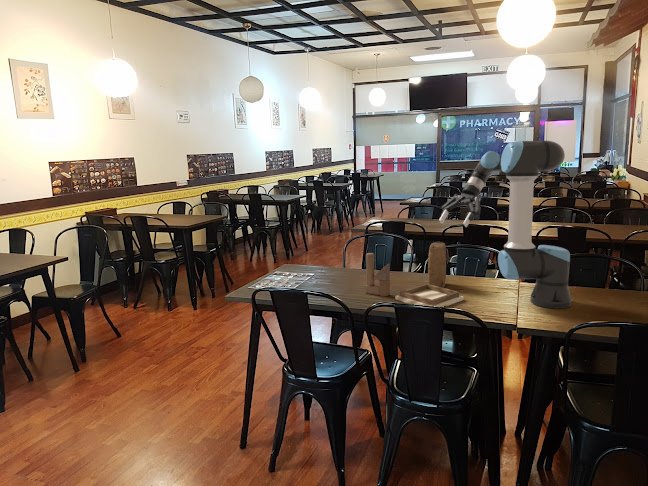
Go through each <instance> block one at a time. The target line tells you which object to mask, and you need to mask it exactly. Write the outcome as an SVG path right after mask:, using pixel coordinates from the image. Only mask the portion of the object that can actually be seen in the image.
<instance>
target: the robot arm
mask: <svg viewBox="0 0 648 486" xmlns="http://www.w3.org/2000/svg"><path fill="white" fill-rule="evenodd" d="M564 161H565V151H564V148H563V147H562V146H561V145H560V144H559V143H558V142H555V141H553V140H519V141H511V142H509V143H507V144H506V146H505V147H504V149H503V150H502V153H501V154H499V153H498V152H496V151H493V150H489V151H486V152H485V153H484V154H483V156H481V159H480V160H479V161H478V163H477V165H476V166H475V168H474V170H473V171H472V173H471V175H470V177H469V178H468V181H467V182H466V183H465V186H464V187H463V189H462V191H461V194H459V195H458V194H457V193H455V194H454V195H453V196H452V197H451V198H450V199H449V200H448V201H446V202H445V203H444V204H443V205H442V206H441V207H440V208H441V209H442V212H441V213H440V215H441V216H440V217H439V219H438V221H439V222H440V224H444V222H445V220H446V218H447V217H448V215H449V213H450V211H452V210H454V209H456V208H457V207H459V206H469V209H470V211H469V212H468V214H467V215H466V217H465V220H464V221H463V223H462V224H463V225H464V227H465V228H468V226H469V225H470V222H471V221H473V219H474V218H475V216H480V215H481V202H482V198H481V197H480V193H481V191H482V190H483V188H484V186H485V184H486V182H487V181H488V179H489V178H490V176H491V175H492V173H493V172H503V173H505V177H506V179H507V180H509V203H508V205H509V206H508V209H509V210H508V233H507V234H508V235H507V236H508V238H507V242H506V243H505V244H504V245H503V249H502V250H500V251H499V252H498V256H497V264H498V267H499V272H500V274H502V276H503V277H504V279H506V280H514V281H515V280H516V281H518V280H536V281H535V285H534V287H533V289H532V292H531V294H530V303H532V304H533V305H535V306H537V307H542V308H547V309H566V308H570V307H571V306H572V301H573V300H572V297H571V293H570V289H569V275H570V262H571V253H570V251H569V250H568V249H566V248H564V247H561V246H556V245H548V244H540V245H538V247H537V249H536V245H535V244H534V243H533V242H532V238H533V237H532V234H533V212H534V211H533V210H534V206H533V205H534V183H535V180H536V179H537V178H538V177H539V173H540V172H549V171H552V170H555V169H557V168H559V167H560V166H562V164H563V162H564ZM473 202H474V203H475V207H474V204H473Z"/></svg>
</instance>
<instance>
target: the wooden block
mask: <svg viewBox="0 0 648 486" xmlns="http://www.w3.org/2000/svg"><path fill="white" fill-rule="evenodd" d="M365 256H366V257H365V261H366V263H365V266H366V269H365V270H366V271H365V274H366V277H365V278H366V279H365V280H366V281H365V282H366V284H365V285H364V294H370V295H374V296H380V297H388V296H389V295H390V293H391V290H390V289H391V288H390V285H391V283H390V282H391V281H390V279H391V278H390V277H391V273H390V271H391V268H390V267H391V265H390V264H391V263H387V264H386V265H384V266H383V267H382V268H381V269H380V270H379V271H378V272H377V273H376V274H375V253H373V252H367V253H366V254H365ZM375 280H378V282H379V283H378V284H375Z"/></svg>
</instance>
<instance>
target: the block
mask: <svg viewBox="0 0 648 486" xmlns="http://www.w3.org/2000/svg"><path fill="white" fill-rule="evenodd" d="M427 265H428V266H427V281H428V283H427V284H430V285H434V286H438V287H442V288H445V286H446V278H447V247H446V243H445V242H439V241H438V242H432V243H431V244H430V246H429V251H428V261H427Z"/></svg>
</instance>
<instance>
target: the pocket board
mask: <svg viewBox="0 0 648 486" xmlns="http://www.w3.org/2000/svg"><path fill="white" fill-rule="evenodd" d="M464 297H465V296H462V295H460V292H459V291H457V290H453V289H449V288H445V287H438V286H434V285H430V284H428V283H424V284H421V285H420V284H419V285H418V286H414V287H410V288H408V289H405V290H400V291H399V294H398V295H395V300H396V301H399V302H403V303H405V304H409V305H412V304H414V305H413V306H415V305H423V306H434V307H443V308H445V307H444V306H446V307H448V306H450V305H453V304H456V303H459V302H462V301H464V300H465V299H464Z"/></svg>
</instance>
